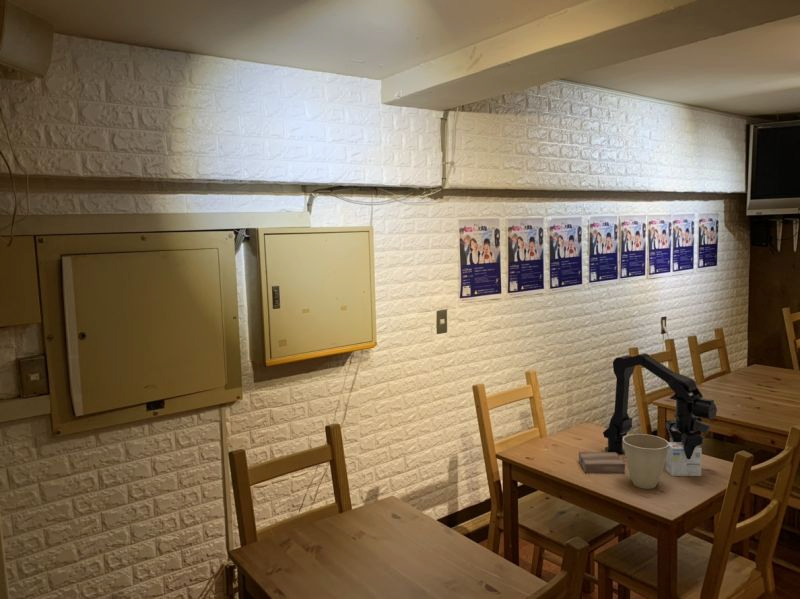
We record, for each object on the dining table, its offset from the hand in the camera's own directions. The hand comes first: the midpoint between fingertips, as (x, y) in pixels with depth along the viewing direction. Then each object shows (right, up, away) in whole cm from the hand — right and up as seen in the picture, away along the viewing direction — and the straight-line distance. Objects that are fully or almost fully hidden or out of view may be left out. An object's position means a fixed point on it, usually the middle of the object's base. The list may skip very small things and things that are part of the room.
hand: (683, 454), depth 221 cm
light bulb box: (0, -7, +1) cm, 7 cm away
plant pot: (-17, -9, -8) cm, 21 cm away
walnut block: (-27, -7, +8) cm, 29 cm away
